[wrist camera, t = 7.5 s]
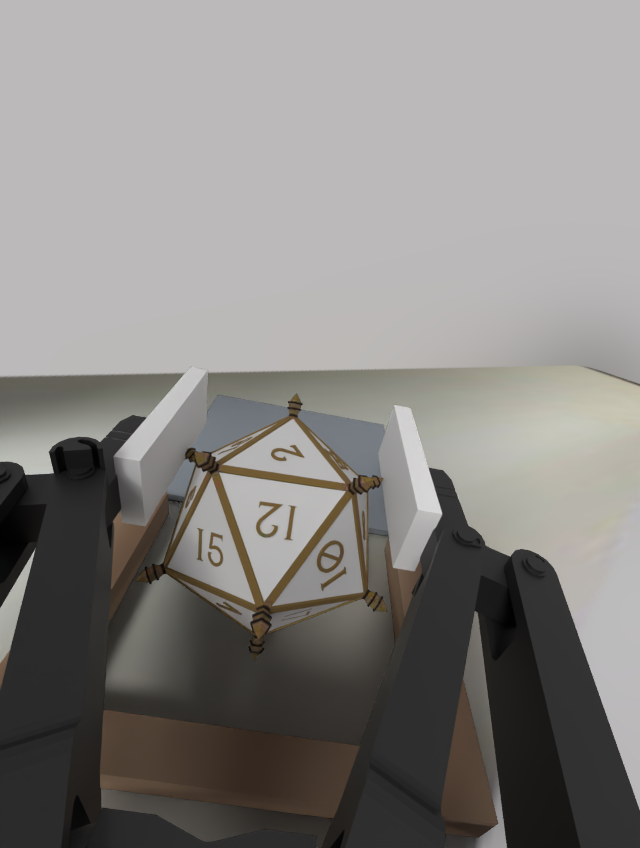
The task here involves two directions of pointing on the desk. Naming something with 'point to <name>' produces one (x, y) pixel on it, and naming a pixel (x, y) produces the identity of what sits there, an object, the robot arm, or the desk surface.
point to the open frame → (264, 736)
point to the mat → (341, 434)
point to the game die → (272, 530)
